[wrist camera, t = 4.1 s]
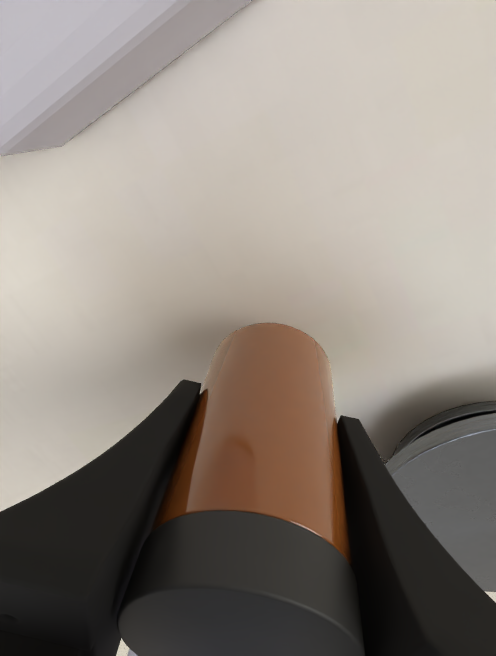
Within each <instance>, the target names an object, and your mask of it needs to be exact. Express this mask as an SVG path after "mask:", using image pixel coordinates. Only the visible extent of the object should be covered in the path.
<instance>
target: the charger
mask: <svg viewBox="0 0 496 656" xmlns="http://www.w3.org/2000/svg"><path fill="white" fill-rule="evenodd" d="M251 1H252V0H0V156H5V155H11V154H18V153H24V152H30V151H36V150H42V149H48V148H54V147H61V146H62V145H64V144H65V143H66V142H68V141H69V140H70V139H72V138H73V137H74V136H76V135H77V134H78V133H79V132H81V131H82V130H83V129H85V128H86V127H87V126H89V125H90V124H91V123H93V122H94V121H95V120H96V119H98V118H99V117H100V116H102V115H103V114H104V113H106V112H107V111H108V110H110V109H111V108H112V107H113V106H115V105H116V104H117V103H119V102H120V101H121V100H123V99H124V98H125V97H127V96H128V95H129V94H130V93H132V92H133V91H134V90H136V89H137V88H138V87H140V86H141V85H142V84H144V83H145V82H146V81H147V80H149V79H150V78H151V77H153V76H154V75H155V74H157V73H158V72H159V71H161V70H162V69H163V68H164V67H166V66H167V65H168V64H170V63H171V62H172V61H174V60H175V59H176V58H178V57H179V56H180V55H181V54H183V53H184V52H185V51H187V50H188V49H189V48H191V47H192V46H193V45H195V44H196V43H197V42H198V41H200V40H201V39H202V38H204V37H205V36H206V35H208V34H209V33H210V32H212V31H213V30H214V29H215V28H217V27H218V26H219V25H221V24H222V23H223V22H225V21H226V20H227V19H229V18H230V17H231V16H232V15H234V14H235V13H236V12H238V11H239V10H240V9H242V8H243V7H244V6H246V5H247V4H248V3H249V2H251Z"/></svg>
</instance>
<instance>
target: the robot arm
mask: <svg viewBox="0 0 496 656" xmlns="http://www.w3.org/2000/svg"><path fill="white" fill-rule="evenodd" d="M200 389H201V383H197V382H193V381H189V380H182V381H180V382H179V384H178V385H177V386H176V387H175V389H174V390H173V391H172V392H171V393H170V394H169V395H168V397H167V398H166V399H165V400H164V401H163V402H162V403H161V404H160V405H159V406H158V407H157V408H156V409H155V410H154V411H153V412H152V413H151V414H150V415H149V416H148V417H147V418H146V419H145V420H143V421H142V422H141V423H140V424H139V425H138V426H137V427H135V428H134V429H133V430H132V431H131V432H130V433H129V434H127V435H126V436H125V437H124V438H122V439H121V440H120V441H119V442H117V443H116V444H115V445H114V446H112V447H111V448H110V449H108V450H107V451H106V452H104V453H103V454H101V455H100V456H99V457H97V458H96V459H94V460H93V461H91V462H90V463H88V464H87V465H85V466H84V467H82V468H81V469H79V470H77V471H76V472H74V473H73V474H71V475H69V476H68V477H66V478H64V479H63V480H61V481H59V482H57V483H55V484H54V485H52V486H50V487H48V488H47V489H45V490H43V491H41V492H40V493H38V494H36V495H34V496H32V497H30V498H28V499H26V500H24V501H22V502H20V503H18V504H16V505H14V506H11V507H9V508H7V509H5V510H3V511H1V512H0V656H116V654H117V650H118V647H119V644H120V640H121V636H120V634H119V631H118V628H117V614H118V610H119V608H120V605H121V602H122V599H123V597H124V594H125V591H126V589H127V586H128V583H129V580H130V578H131V575H132V572H133V570H134V567H135V564H136V561H137V559H138V556H139V553H140V551H141V548H142V546H143V544H144V541H145V540H146V539H147V537H148V535H149V532H150V530H151V527H152V524H153V521H154V519H155V516H156V513H157V510H158V508H159V505H160V502H161V499H162V497H163V494H164V491H165V488H166V485H167V483H168V480H169V477H170V474H171V472H172V469H173V466H174V463H175V461H176V458H177V455H178V452H179V450H180V447H181V444H182V441H183V439H184V436H185V433H186V430H187V428H188V425H189V422H190V420H191V417H192V415H193V412H194V409H195V406H196V403H197V401H198V398H199V395H200ZM337 428H338V437H339V446H340V455H341V464H342V473H343V482H344V491H345V501H346V510H347V519H348V528H349V537H350V546H351V555H352V564H353V572H354V574H355V577H356V581H357V588H358V596H359V605H360V614H361V623H362V631H363V640H364V649H365V656H496V603H495V602H494V601H493V600H492V599H491V598H490V597H489V596H488V595H487V594H486V593H485V592H484V591H483V590H482V589H481V588H480V587H479V586H478V585H477V584H476V583H475V581H474V580H473V579H472V578H471V577H470V576H469V575H468V574H467V573H466V572H465V571H464V570H463V569H462V568H461V566H460V565H459V564H458V563H457V562H456V561H455V560H454V559H453V557H452V556H451V555H450V554H449V553H448V552H447V551H446V549H445V548H444V547H443V546H442V545H441V544H440V542H439V541H438V540H437V539H436V538H435V536H434V535H433V534H432V533H431V531H430V530H429V529H428V527H427V526H426V525H425V524H424V522H423V521H422V520H421V518H420V517H419V516H418V515H417V513H416V512H415V510H414V509H413V508H412V506H411V505H410V503H409V502H408V501H407V499H406V498H405V496H404V495H403V493H402V492H401V490H400V489H399V487H398V486H397V484H396V483H395V481H394V479H393V478H392V476H391V474H390V473H389V471H388V470H387V468H386V466H385V465H384V463H383V461H382V460H381V458H380V456H379V454H378V453H377V451H376V449H375V447H374V446H373V444H372V442H371V440H370V438H369V437H368V435H367V433H366V431H365V429H364V428H363V426H362V424H361V422H360V421H359V419H355V418H351V417H346V416H342V415H341V416H340V419H339V421H338V423H337ZM128 656H138V655H136V654H135V653H134V652H133V651H132V650H131V649H129V652H128Z"/></svg>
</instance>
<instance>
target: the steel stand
mask: <svg viewBox="0 0 496 656" xmlns="http://www.w3.org/2000/svg"><path fill="white" fill-rule="evenodd" d="M385 466H386V468H387V470H388V471H389V473H390V474H391V476H392V478H393V479H394V481H395V483H396V484H397V486H398V487H399V489H400V490H401V492H402V493H403V495H404V496H405V498H406V499H407V501H408V502H409V503H410V505H411V506H412V508H413V509H414V510H415V512H416V513H417V515H418V516H419V517H420V518H421V520H422V521H423V522H424V524H425V525H426V526H427V527H428V529H429V530H430V531H431V533H432V534H433V535H434V536H435V538H436V539H437V540H438V541H439V542H440V544H441V545H442V546H443V547H444V548H445V549H446V551H447V552H448V553H449V554H450V555H451V556H452V557H453V559H454V560H455V561H456V562H457V563H458V564H459V565H460V566H461V568H462V569H463V570H464V571H465V572H466V573H467V574H468V575H469V576H470V577H471V578H472V579H473V580H474V581H475V583H476V584H477V585H478V586H479V587H480V588H481V589H482V590H483V591H488V592H496V401H492V402H482V403H475V404H470V405H465V406H461V407H457V408H454V409H451V410H448V411H445V412H443V413H440V414H438V415H436V416H434V417H432V418H430V419H428V420H426V421H425V422H423V423H421V424H420V425H418V426H417V427H416V428H414V429H413V430H412V431H411V432H410V433H408V434H407V436H406V437H405V438H404V439H403V440H402V441H401V442H400V444H399V445H398V447H397V448H396V450H395V452H394V454H393V457H392V458H391V459H390V460H389V461H388V462H387V463H386V464H385Z"/></svg>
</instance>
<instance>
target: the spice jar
mask: <svg viewBox="0 0 496 656" xmlns="http://www.w3.org/2000/svg"><path fill="white" fill-rule="evenodd" d="M117 628H118V631H119V634H120V636H121V638H122V639H123V641H124V642H125V644H126V645H127V646H128V647H129V648H130V649H131V650H132V651H133V652H134V653H135V654H136V655H138V656H365V649H364V640H363V631H362V623H361V614H360V605H359V596H358V588H357V581H356V577H355V574H354V572H353V564H352V555H351V546H350V537H349V528H348V519H347V510H346V501H345V491H344V482H343V473H342V464H341V455H340V446H339V437H338V428H337V418H336V409H335V400H334V391H333V382H332V373H331V367H330V362H329V360H328V357H327V355H326V354H325V352H324V350H323V349H322V348H321V346H320V345H319V344H318V343H317V342H316V341H315V340H314V339H313V338H311V337H310V336H309V335H307V334H306V333H304V332H302V331H300V330H298V329H296V328H293V327H291V326H287V325H283V324H277V323H258V324H253V325H249V326H246V327H243V328H241V329H238V330H236V331H235V332H233V333H231V334H230V335H229V336H227V337H226V338H225V339H224V340H223V341H222V342H221V343H220V345H219V346H218V348H217V349H216V351H215V354H214V356H213V359H212V361H211V364H210V367H209V370H208V372H207V375H206V378H205V381H204V383H203V386H202V389H201V392H200V395H199V398H198V401H197V403H196V406H195V409H194V412H193V415H192V417H191V420H190V422H189V425H188V428H187V430H186V433H185V436H184V439H183V441H182V444H181V447H180V450H179V452H178V455H177V458H176V461H175V463H174V466H173V469H172V472H171V474H170V477H169V480H168V483H167V485H166V488H165V491H164V494H163V497H162V499H161V502H160V505H159V508H158V510H157V513H156V516H155V519H154V521H153V524H152V527H151V530H150V532H149V535H148V537H147V539H146V540H145V541H144V544H143V546H142V548H141V551H140V553H139V556H138V559H137V561H136V564H135V567H134V570H133V572H132V575H131V578H130V580H129V583H128V586H127V589H126V591H125V594H124V597H123V599H122V602H121V605H120V608H119V610H118V614H117Z"/></svg>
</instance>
